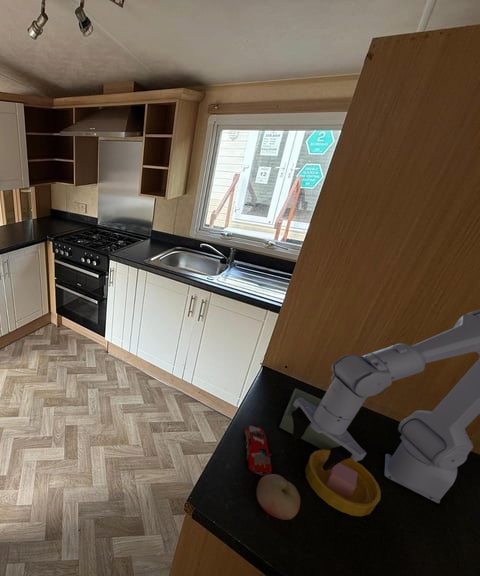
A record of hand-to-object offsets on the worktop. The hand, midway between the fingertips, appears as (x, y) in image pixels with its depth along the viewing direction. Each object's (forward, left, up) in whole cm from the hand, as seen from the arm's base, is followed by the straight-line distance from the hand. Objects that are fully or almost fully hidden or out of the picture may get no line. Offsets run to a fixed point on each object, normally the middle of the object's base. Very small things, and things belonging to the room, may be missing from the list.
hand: (310, 452), depth 70 cm
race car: (+10, 0, -10) cm, 14 cm away
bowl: (-7, -4, -10) cm, 13 cm away
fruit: (+3, +11, -10) cm, 15 cm away
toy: (-7, -4, -9) cm, 13 cm away
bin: (+1, -19, -10) cm, 22 cm away
